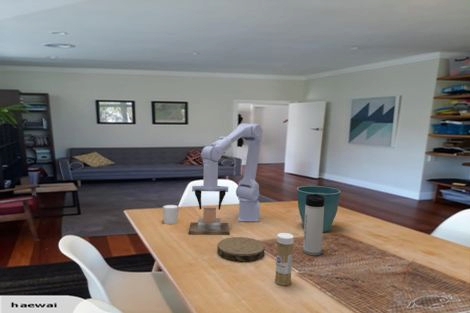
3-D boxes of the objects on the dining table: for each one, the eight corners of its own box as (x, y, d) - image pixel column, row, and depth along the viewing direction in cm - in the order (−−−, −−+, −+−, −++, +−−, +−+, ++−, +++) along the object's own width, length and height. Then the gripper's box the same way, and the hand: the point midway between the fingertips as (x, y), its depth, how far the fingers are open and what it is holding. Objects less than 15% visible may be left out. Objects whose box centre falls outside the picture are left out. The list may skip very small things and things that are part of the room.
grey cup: (180, 220, 145) (180, 205, 145) (176, 224, 139) (176, 208, 138) (165, 219, 146) (165, 204, 145) (160, 223, 139) (160, 207, 139)
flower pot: (290, 231, 136) (292, 190, 134) (299, 220, 152) (301, 184, 151) (336, 237, 129) (338, 195, 127) (339, 225, 146) (341, 188, 144)
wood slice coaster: (258, 266, 101) (258, 257, 100) (210, 258, 105) (210, 249, 105) (268, 248, 116) (268, 240, 116) (225, 242, 120) (226, 234, 120)
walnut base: (228, 225, 140) (228, 217, 140) (229, 234, 128) (229, 225, 128) (190, 225, 139) (190, 216, 139) (188, 234, 127) (188, 225, 127)
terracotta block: (215, 219, 136) (215, 207, 136) (215, 222, 131) (216, 210, 131) (203, 219, 136) (203, 207, 135) (203, 222, 131) (203, 210, 130)
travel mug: (322, 250, 115) (325, 194, 113) (320, 256, 109) (324, 198, 107) (304, 247, 117) (307, 192, 115) (301, 254, 111) (304, 196, 109)
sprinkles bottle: (271, 282, 90) (273, 234, 89) (280, 276, 93) (282, 231, 92) (285, 287, 87) (288, 239, 86) (294, 282, 91) (296, 235, 89)
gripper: (191, 177, 127) (191, 211, 128) (229, 177, 128) (228, 211, 129) (193, 174, 134) (192, 206, 135) (228, 175, 135) (227, 207, 136)
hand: (209, 208), depth 133 cm, fingers open, 7 cm apart
